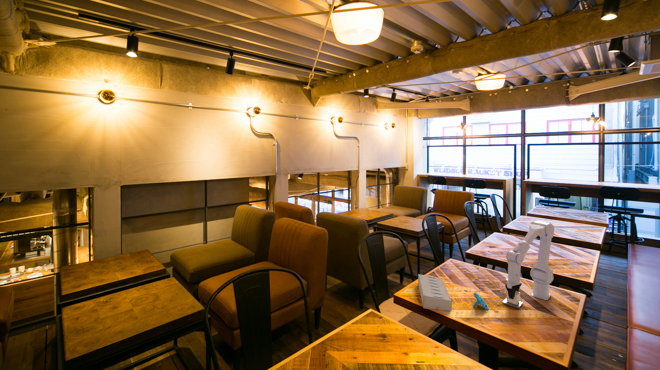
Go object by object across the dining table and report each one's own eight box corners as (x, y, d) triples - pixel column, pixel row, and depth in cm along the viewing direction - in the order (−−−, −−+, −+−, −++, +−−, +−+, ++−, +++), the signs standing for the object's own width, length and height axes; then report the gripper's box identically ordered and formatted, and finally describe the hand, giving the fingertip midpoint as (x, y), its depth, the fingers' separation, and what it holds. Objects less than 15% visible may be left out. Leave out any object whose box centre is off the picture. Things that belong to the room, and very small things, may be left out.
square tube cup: (509, 298, 167) (510, 288, 167) (519, 301, 163) (520, 291, 163) (506, 301, 164) (506, 291, 163) (516, 304, 160) (517, 294, 160)
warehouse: (451, 311, 157) (451, 297, 157) (423, 309, 160) (423, 295, 160) (441, 287, 187) (442, 275, 186) (418, 285, 190) (418, 274, 189)
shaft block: (507, 299, 169) (507, 289, 169) (523, 304, 163) (523, 294, 163) (502, 303, 164) (502, 293, 164) (518, 308, 158) (519, 298, 158)
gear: (489, 311, 153) (475, 294, 157) (480, 317, 155) (466, 300, 159) (489, 304, 163) (475, 289, 167) (480, 310, 165) (467, 295, 168)
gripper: (510, 267, 170) (509, 290, 171) (501, 274, 160) (500, 298, 162) (524, 271, 165) (523, 294, 166) (516, 278, 155) (515, 303, 156)
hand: (513, 296), depth 163 cm, fingers open, 5 cm apart
